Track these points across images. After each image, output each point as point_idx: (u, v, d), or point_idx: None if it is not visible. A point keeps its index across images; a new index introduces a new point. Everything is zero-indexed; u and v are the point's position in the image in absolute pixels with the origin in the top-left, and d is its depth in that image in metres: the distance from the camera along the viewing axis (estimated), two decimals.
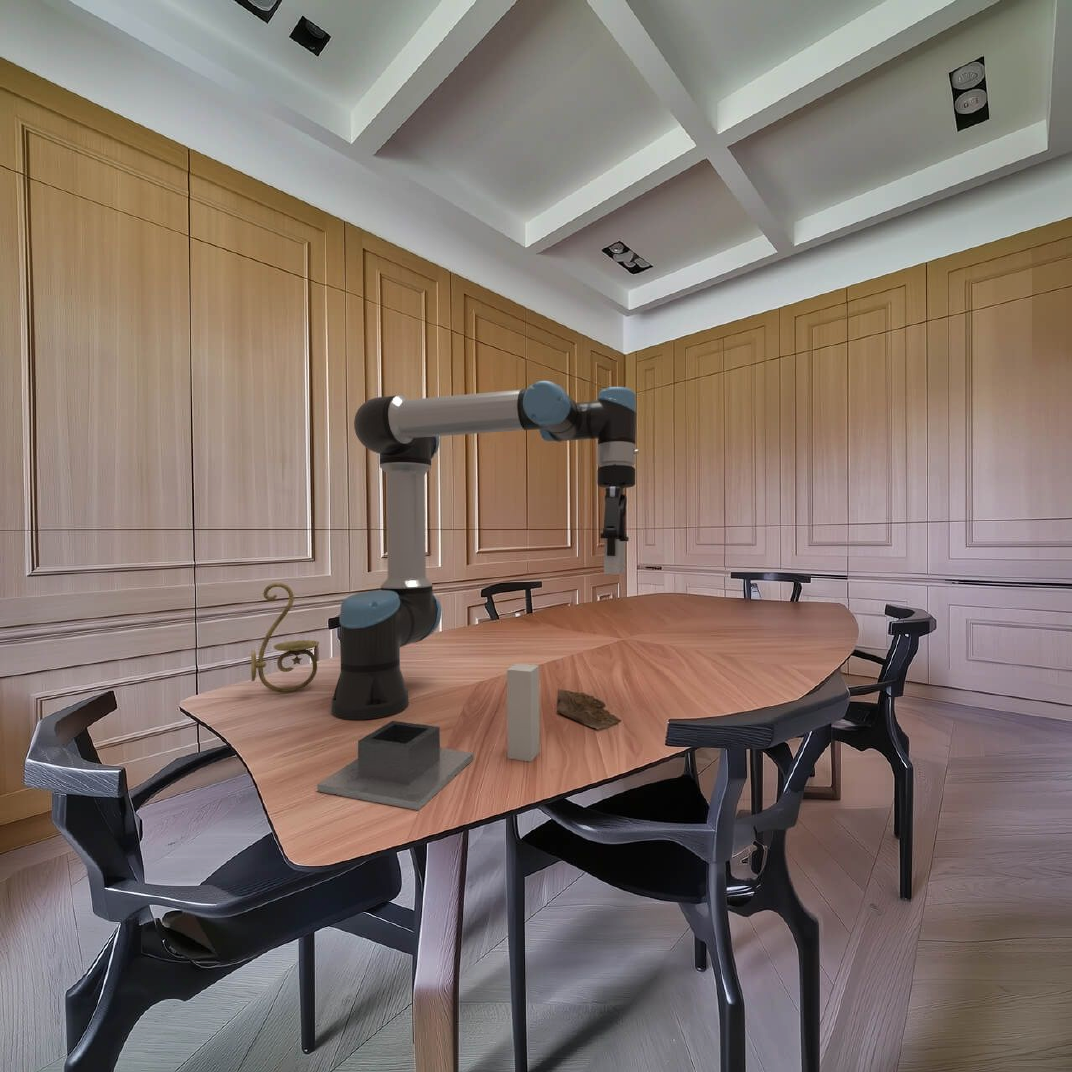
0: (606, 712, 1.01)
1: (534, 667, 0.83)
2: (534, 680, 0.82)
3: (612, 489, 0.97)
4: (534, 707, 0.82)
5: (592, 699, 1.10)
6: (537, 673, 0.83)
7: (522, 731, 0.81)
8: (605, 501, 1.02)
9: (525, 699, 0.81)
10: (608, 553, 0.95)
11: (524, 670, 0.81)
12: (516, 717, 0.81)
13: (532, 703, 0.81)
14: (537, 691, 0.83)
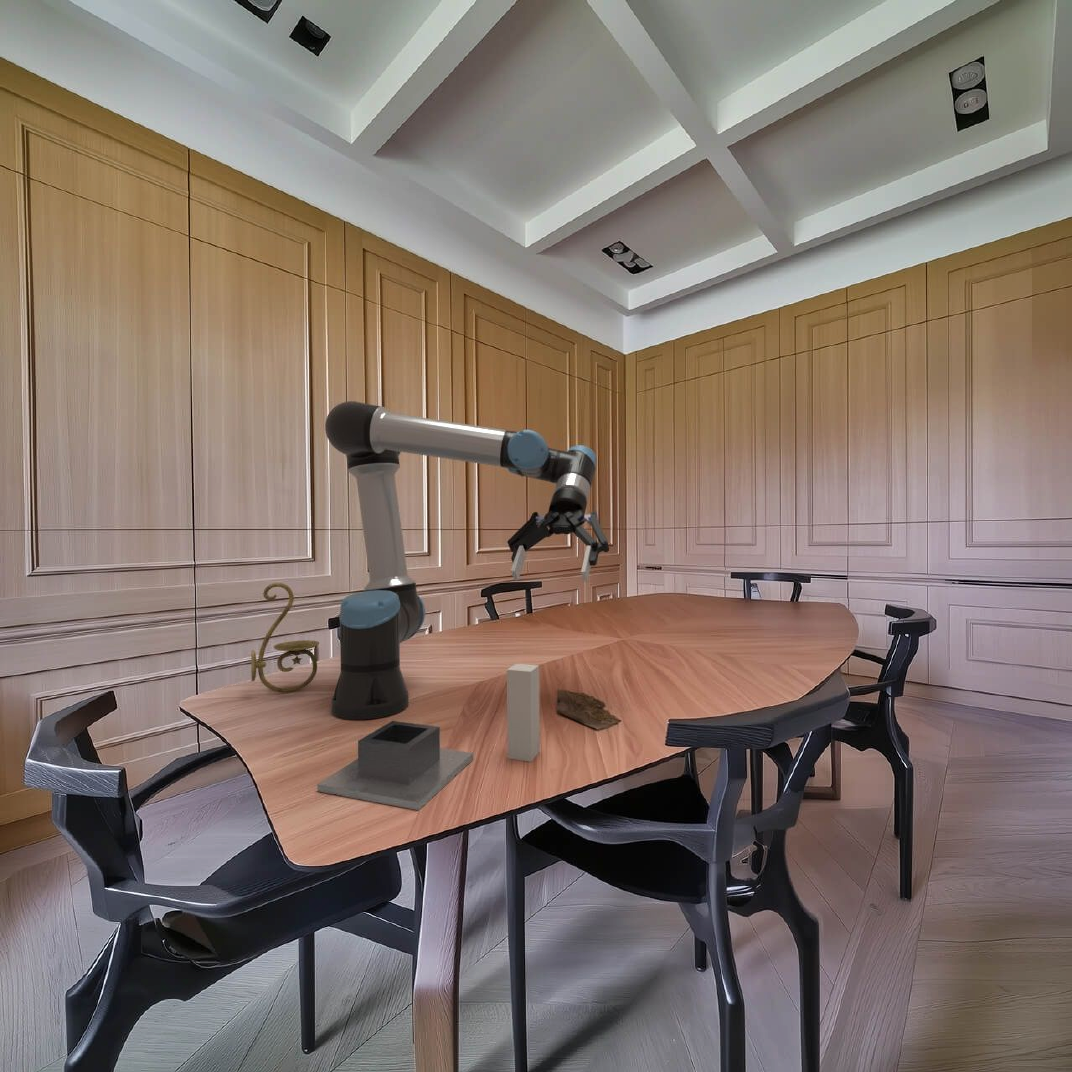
0: (606, 712, 1.01)
1: (534, 667, 0.83)
2: (534, 680, 0.82)
3: (597, 517, 1.04)
4: (534, 707, 0.82)
5: (592, 699, 1.10)
6: (537, 673, 0.83)
7: (522, 731, 0.81)
8: (570, 516, 1.03)
9: (525, 699, 0.81)
10: (595, 559, 0.95)
11: (524, 670, 0.81)
12: (516, 717, 0.81)
13: (531, 703, 0.81)
14: (537, 691, 0.83)
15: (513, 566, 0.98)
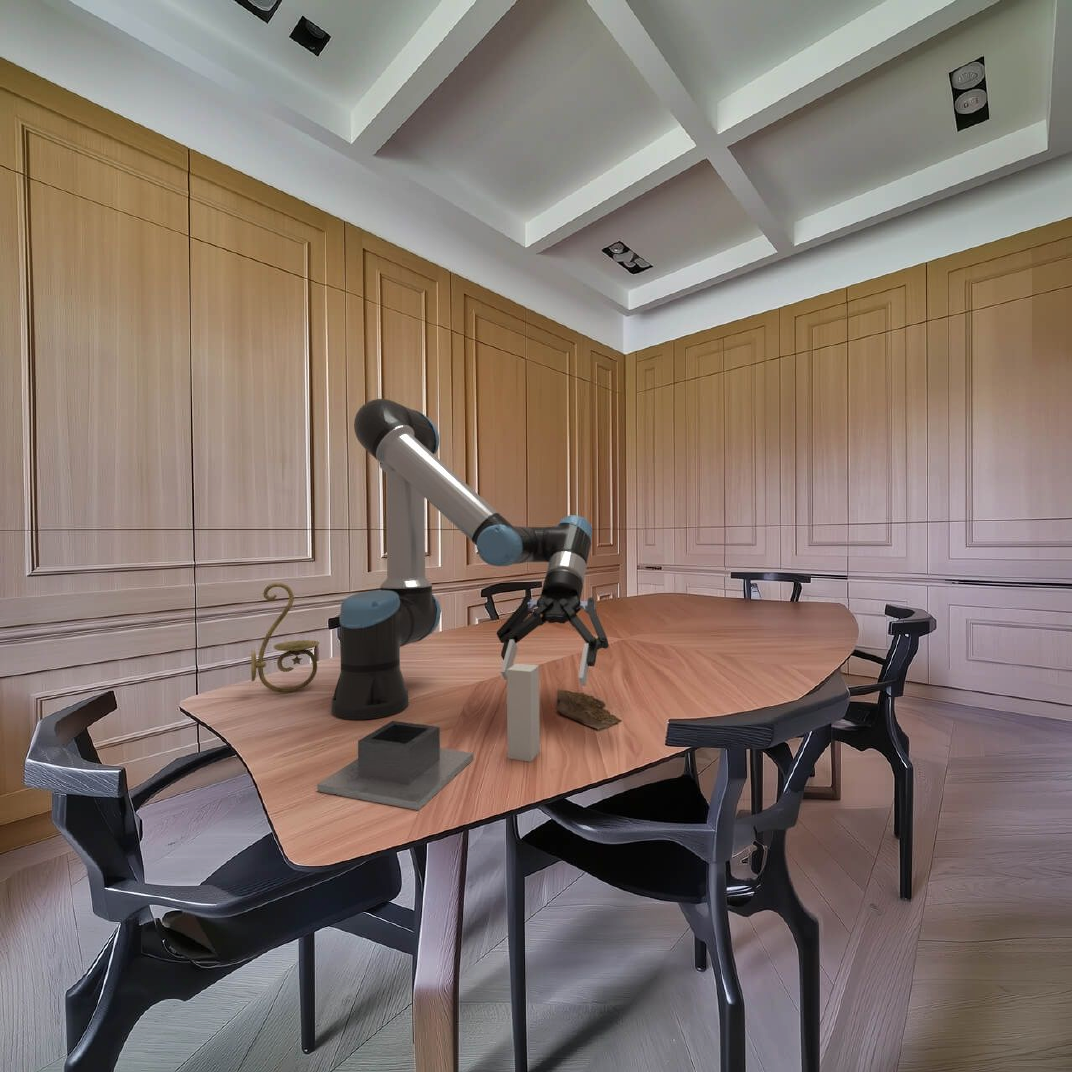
0: (606, 712, 1.01)
1: (534, 667, 0.83)
2: (534, 680, 0.82)
3: None
4: (534, 707, 0.82)
5: (592, 699, 1.10)
6: (537, 673, 0.83)
7: (522, 731, 0.81)
8: (565, 604, 0.94)
9: (525, 699, 0.81)
10: (593, 660, 0.86)
11: (524, 670, 0.81)
12: (516, 717, 0.81)
13: (531, 703, 0.81)
14: (537, 691, 0.83)
15: (503, 666, 0.89)
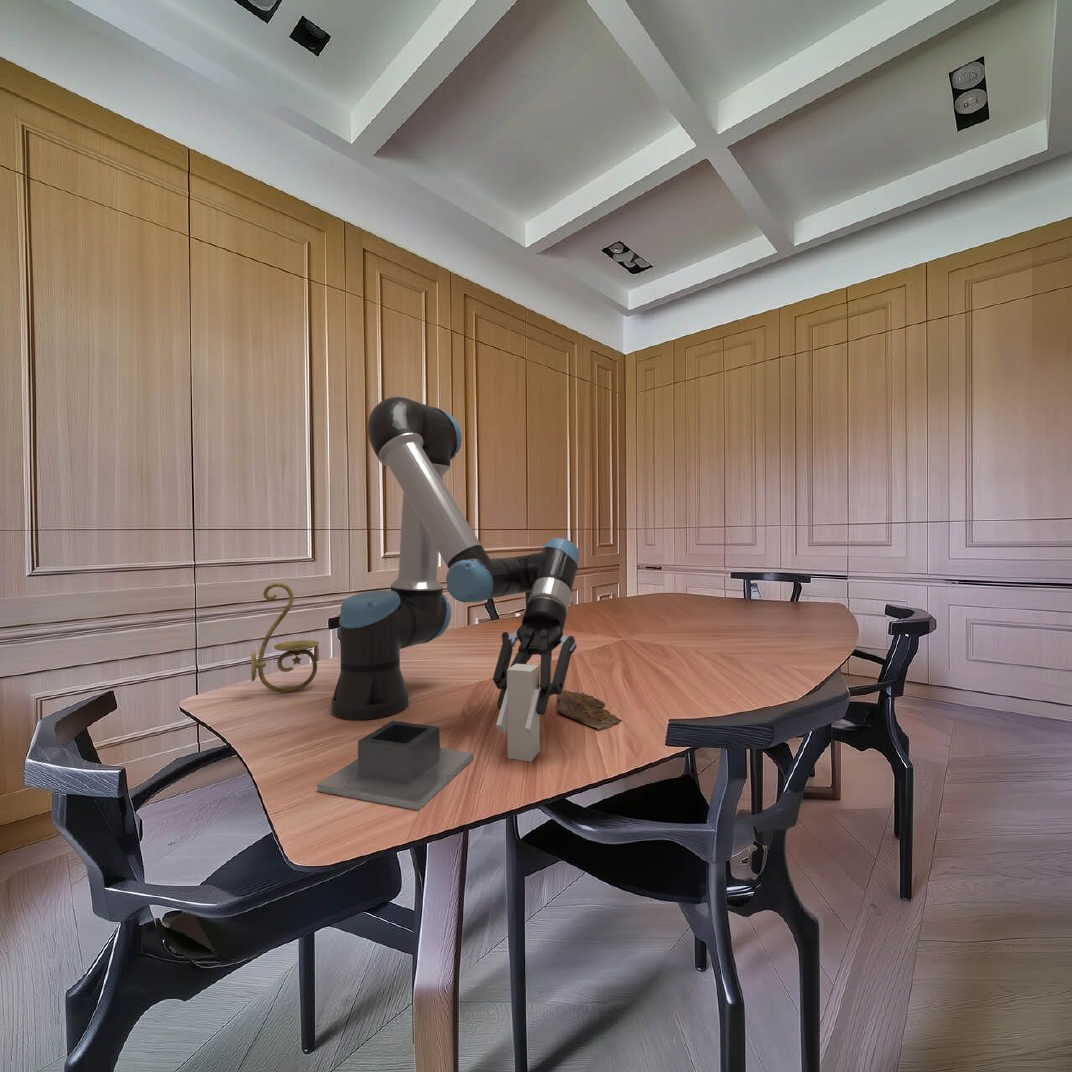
0: (606, 712, 1.02)
1: (534, 667, 0.83)
2: (534, 680, 0.82)
3: (574, 644, 0.88)
4: None
5: (592, 699, 1.10)
6: (537, 673, 0.83)
7: (522, 730, 0.81)
8: (543, 636, 0.88)
9: (525, 699, 0.81)
10: (543, 708, 0.80)
11: (524, 670, 0.81)
12: (516, 717, 0.81)
13: None
14: None
15: (499, 718, 0.80)
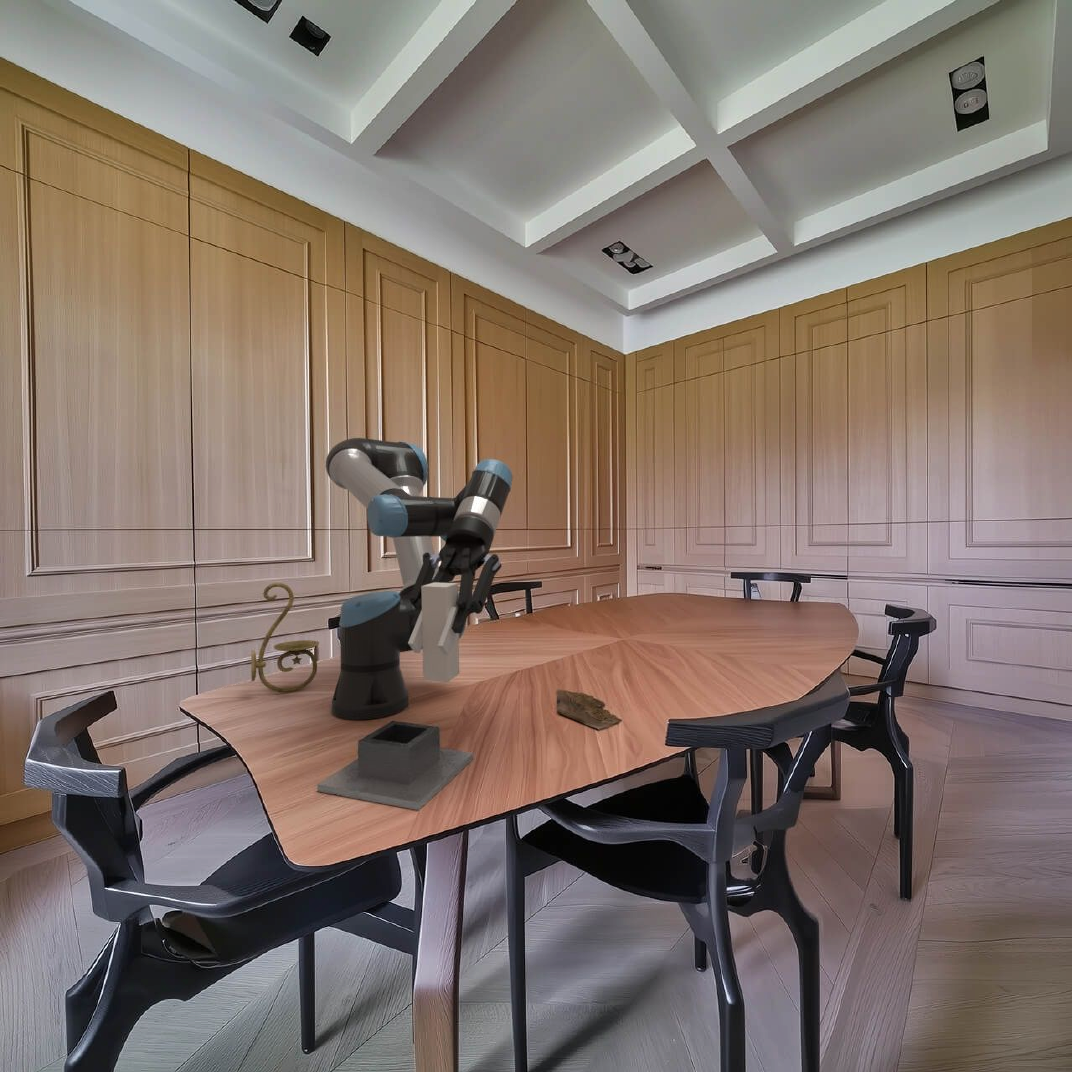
0: (606, 712, 1.02)
1: (452, 584, 0.77)
2: (452, 597, 0.77)
3: (499, 563, 0.83)
4: None
5: (591, 699, 1.10)
6: (455, 591, 0.78)
7: (437, 650, 0.76)
8: (465, 555, 0.83)
9: (440, 616, 0.75)
10: (459, 626, 0.75)
11: (439, 586, 0.75)
12: (432, 636, 0.76)
13: None
14: None
15: (412, 636, 0.74)
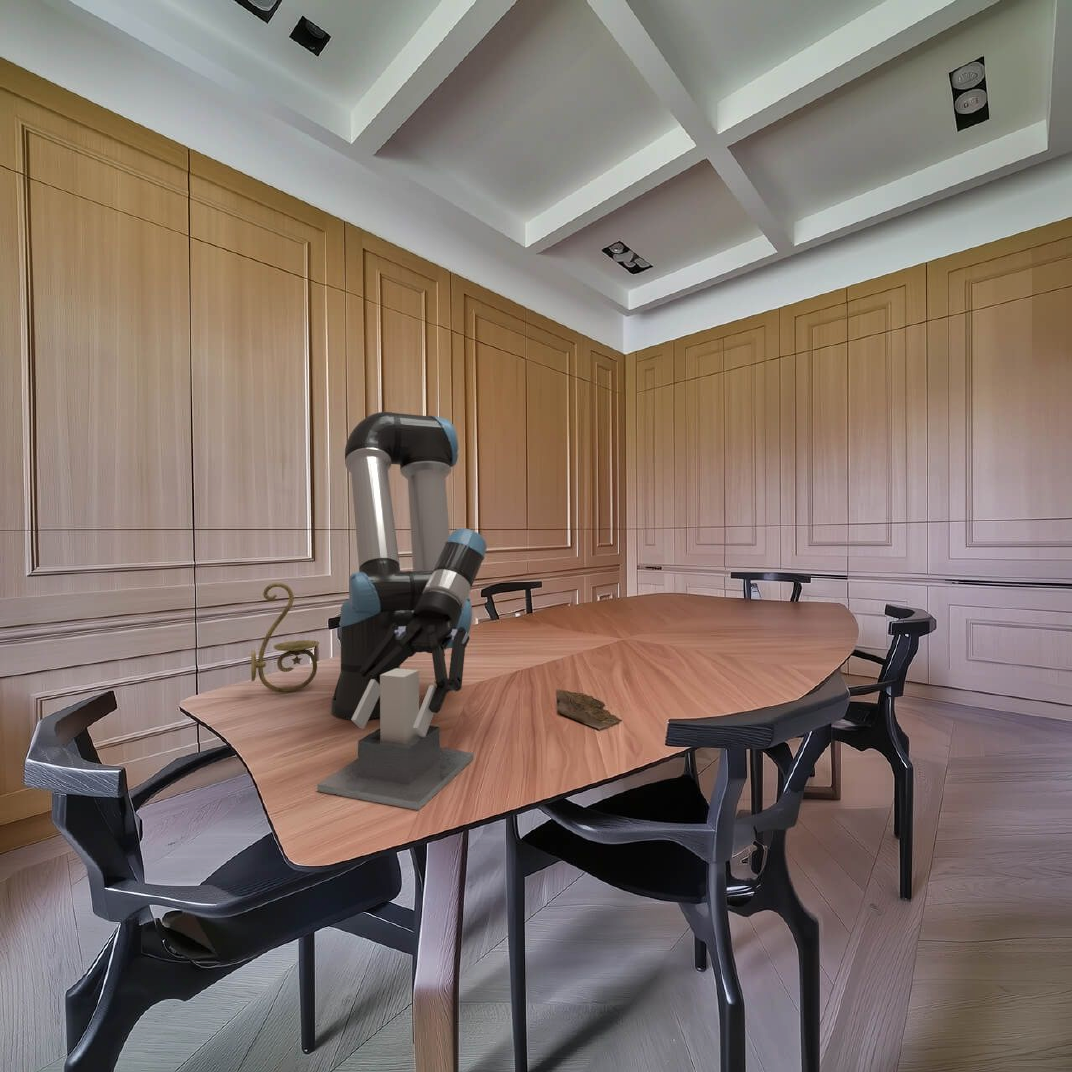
0: (606, 712, 1.02)
1: (411, 672, 0.76)
2: (411, 686, 0.76)
3: (467, 635, 0.82)
4: (410, 716, 0.75)
5: (591, 699, 1.10)
6: (415, 679, 0.77)
7: (395, 741, 0.74)
8: (431, 632, 0.82)
9: (398, 707, 0.74)
10: (437, 706, 0.73)
11: (398, 676, 0.75)
12: (389, 727, 0.75)
13: (405, 712, 0.74)
14: (415, 698, 0.77)
15: (356, 712, 0.75)
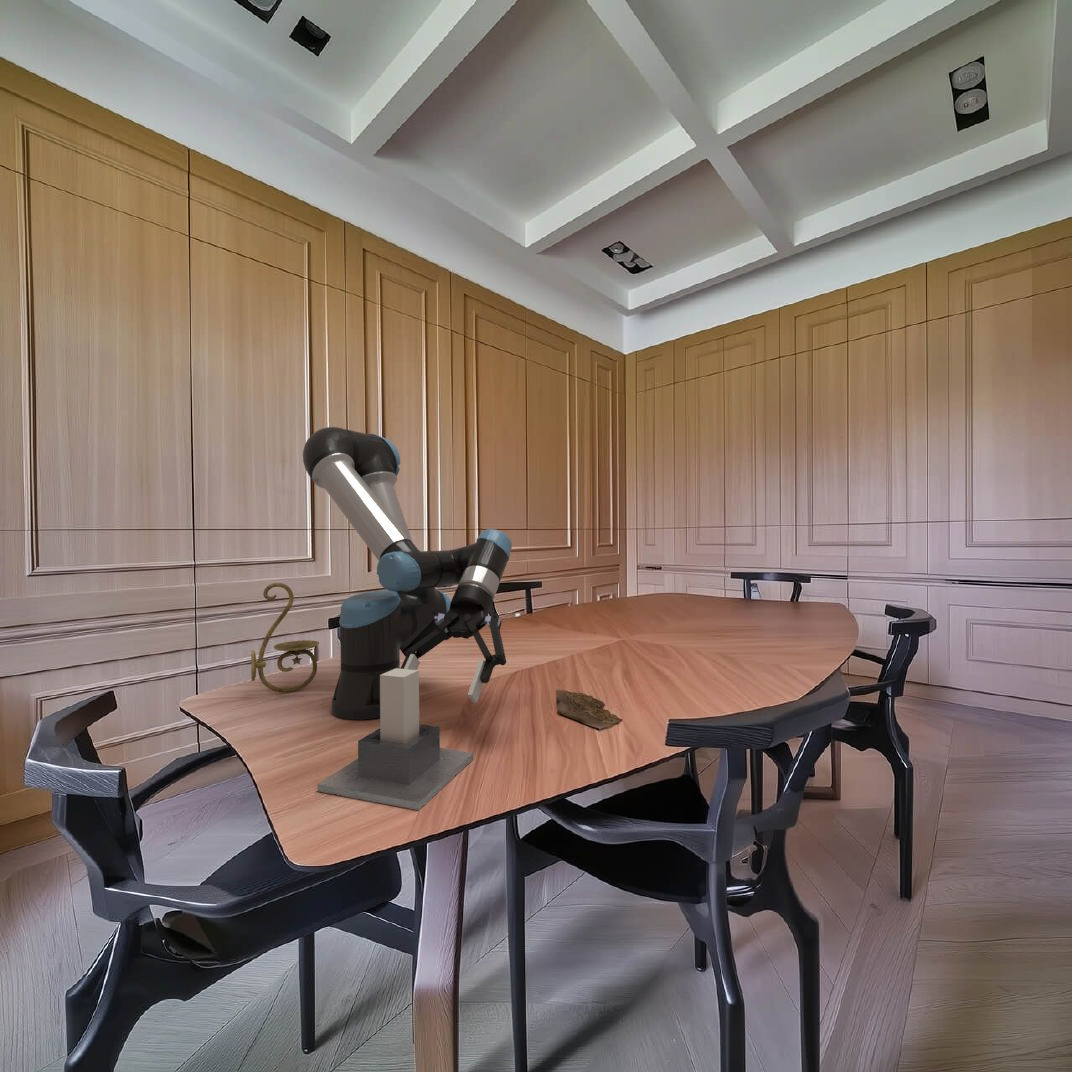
0: (606, 711, 1.02)
1: (411, 672, 0.76)
2: (411, 686, 0.76)
3: (499, 619, 0.95)
4: (410, 716, 0.75)
5: (591, 699, 1.10)
6: (415, 679, 0.77)
7: (395, 741, 0.74)
8: (469, 620, 0.94)
9: (398, 707, 0.74)
10: (486, 677, 0.86)
11: (398, 676, 0.75)
12: (389, 727, 0.75)
13: (405, 712, 0.74)
14: (415, 698, 0.77)
15: None
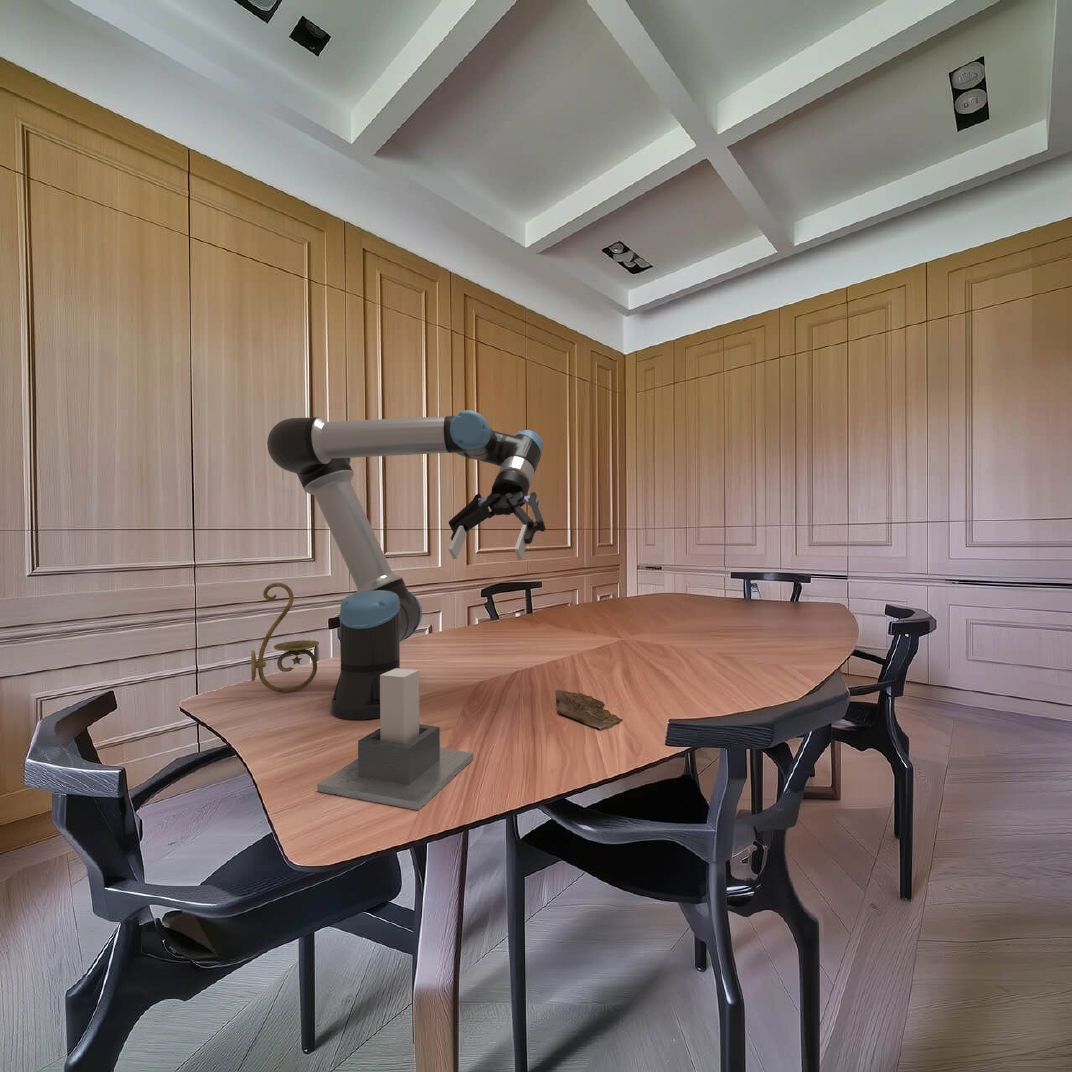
0: (606, 712, 1.02)
1: (411, 672, 0.76)
2: (411, 686, 0.76)
3: (537, 498, 1.06)
4: (410, 716, 0.75)
5: (591, 699, 1.10)
6: (415, 679, 0.77)
7: (395, 741, 0.74)
8: (510, 497, 1.05)
9: (398, 707, 0.74)
10: (530, 538, 0.97)
11: (398, 676, 0.75)
12: (389, 727, 0.75)
13: (405, 712, 0.74)
14: (415, 698, 0.77)
15: (451, 545, 1.00)
